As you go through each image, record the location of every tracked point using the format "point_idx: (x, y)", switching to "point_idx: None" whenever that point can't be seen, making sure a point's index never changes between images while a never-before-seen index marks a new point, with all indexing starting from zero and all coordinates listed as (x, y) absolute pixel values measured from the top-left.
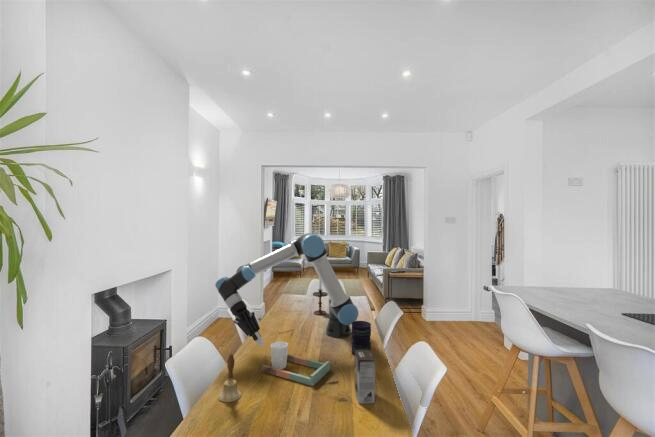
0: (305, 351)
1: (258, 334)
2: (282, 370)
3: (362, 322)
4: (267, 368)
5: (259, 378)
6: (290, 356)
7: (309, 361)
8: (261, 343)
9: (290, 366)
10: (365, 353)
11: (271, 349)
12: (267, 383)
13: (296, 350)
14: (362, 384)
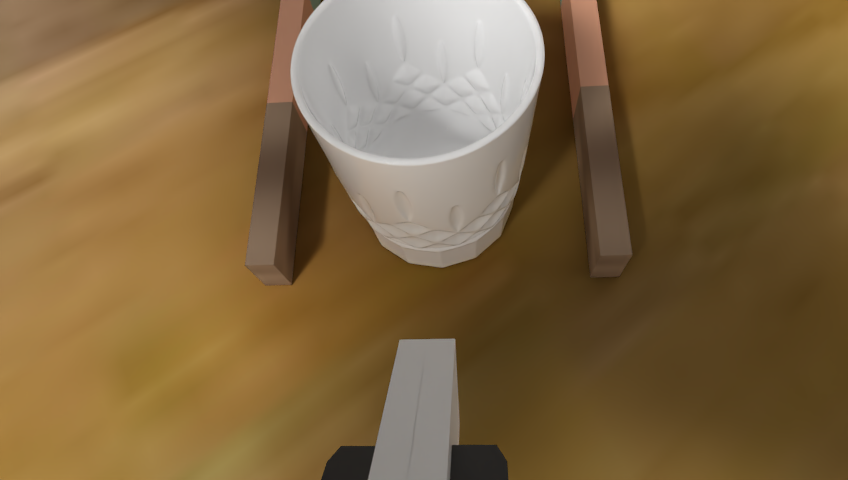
0: (46, 176)
1: (393, 473)
2: (583, 38)
3: None
4: (618, 186)
5: (732, 205)
6: (289, 143)
7: None
8: (455, 365)
9: None
10: None
11: (528, 122)
12: (746, 99)
13: (43, 263)
14: None
